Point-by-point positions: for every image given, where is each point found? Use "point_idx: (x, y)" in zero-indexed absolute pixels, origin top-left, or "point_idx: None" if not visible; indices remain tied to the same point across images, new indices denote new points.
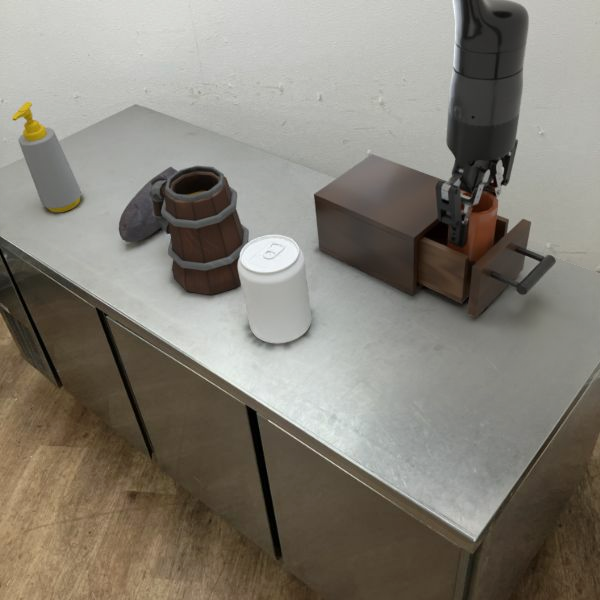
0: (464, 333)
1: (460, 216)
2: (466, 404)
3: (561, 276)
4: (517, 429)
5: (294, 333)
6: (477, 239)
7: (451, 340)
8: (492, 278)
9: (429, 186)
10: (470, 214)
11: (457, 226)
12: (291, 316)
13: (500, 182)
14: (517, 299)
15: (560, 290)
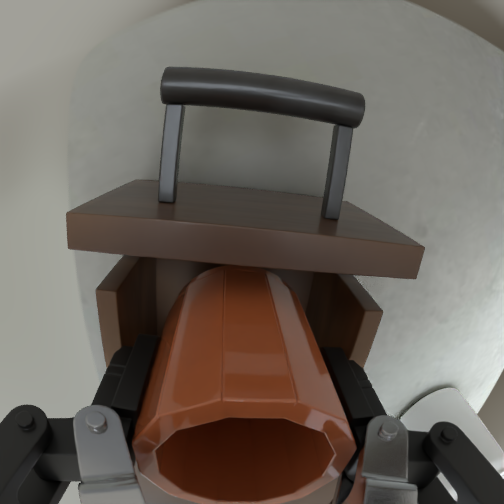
0: (374, 204)
1: (449, 457)
2: (489, 144)
3: (101, 104)
4: (488, 69)
5: (458, 394)
6: (312, 334)
7: (399, 218)
8: (314, 211)
9: (147, 491)
10: (368, 445)
11: (445, 425)
12: (473, 413)
13: (110, 493)
14: (224, 149)
15: (146, 84)
